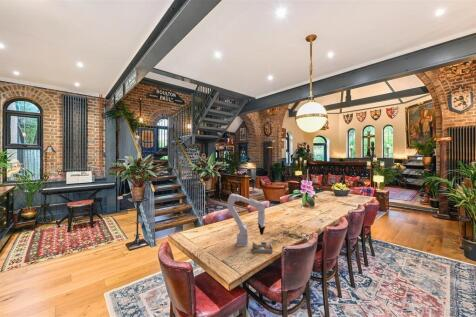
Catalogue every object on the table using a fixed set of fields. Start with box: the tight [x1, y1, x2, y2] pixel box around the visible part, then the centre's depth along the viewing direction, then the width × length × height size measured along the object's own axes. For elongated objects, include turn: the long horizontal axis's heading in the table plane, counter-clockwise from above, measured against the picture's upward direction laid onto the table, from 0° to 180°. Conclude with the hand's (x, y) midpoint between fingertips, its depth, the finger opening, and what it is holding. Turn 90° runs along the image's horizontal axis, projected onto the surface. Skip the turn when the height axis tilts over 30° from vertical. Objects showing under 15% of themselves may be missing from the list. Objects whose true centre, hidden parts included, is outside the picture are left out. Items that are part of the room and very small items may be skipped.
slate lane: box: [253, 242, 273, 254], centre depth 163 cm, size 14×8×4 cm, turn 88°
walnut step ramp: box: [252, 242, 260, 253], centre depth 163 cm, size 6×8×5 cm
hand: (261, 232), depth 173 cm, fingers open, 7 cm apart
